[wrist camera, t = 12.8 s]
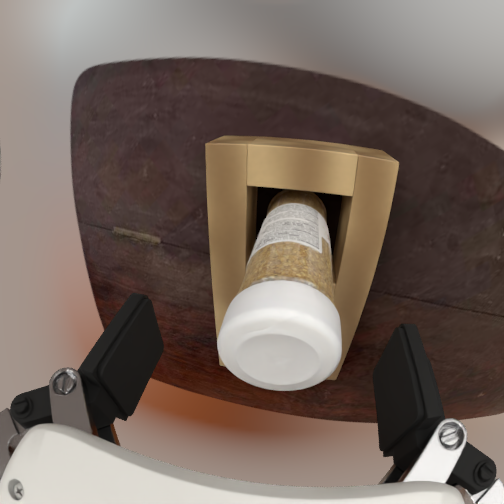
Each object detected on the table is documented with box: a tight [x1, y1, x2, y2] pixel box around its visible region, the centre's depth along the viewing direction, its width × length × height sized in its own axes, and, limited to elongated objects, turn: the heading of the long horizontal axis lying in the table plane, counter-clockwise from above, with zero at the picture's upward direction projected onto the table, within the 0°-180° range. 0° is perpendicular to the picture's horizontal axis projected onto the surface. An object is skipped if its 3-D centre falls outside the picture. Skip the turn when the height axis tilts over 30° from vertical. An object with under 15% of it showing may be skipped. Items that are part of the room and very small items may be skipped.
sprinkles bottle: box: [217, 189, 342, 391], centre depth 15 cm, size 5×5×13 cm
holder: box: [205, 136, 399, 380], centre depth 21 cm, size 11×20×4 cm, turn 179°
